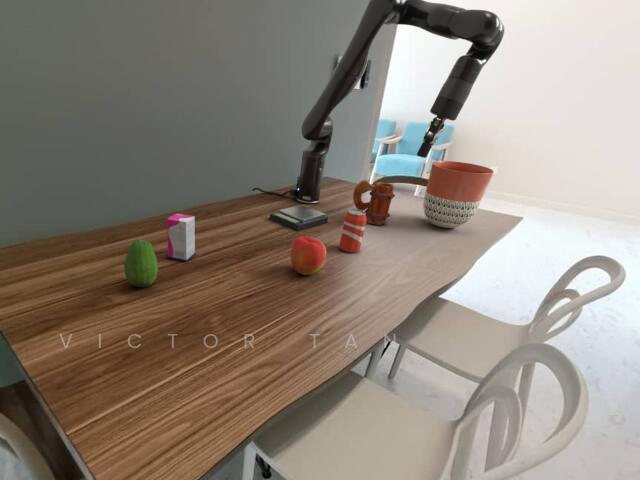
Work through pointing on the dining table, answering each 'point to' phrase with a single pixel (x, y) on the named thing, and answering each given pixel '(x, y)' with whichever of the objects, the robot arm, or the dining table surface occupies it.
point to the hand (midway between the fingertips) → (421, 156)
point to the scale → (296, 221)
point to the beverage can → (353, 230)
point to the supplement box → (181, 237)
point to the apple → (307, 255)
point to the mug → (374, 200)
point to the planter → (454, 192)
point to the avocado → (141, 264)
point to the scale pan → (302, 213)
